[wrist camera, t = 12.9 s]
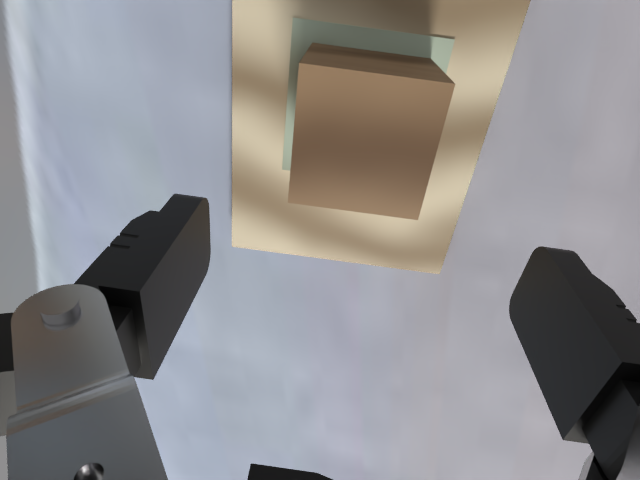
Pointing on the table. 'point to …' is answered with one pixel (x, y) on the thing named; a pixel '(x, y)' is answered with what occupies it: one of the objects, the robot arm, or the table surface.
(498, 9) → the birch board
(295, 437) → the table surface
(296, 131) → the walnut block
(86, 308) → the robot arm
